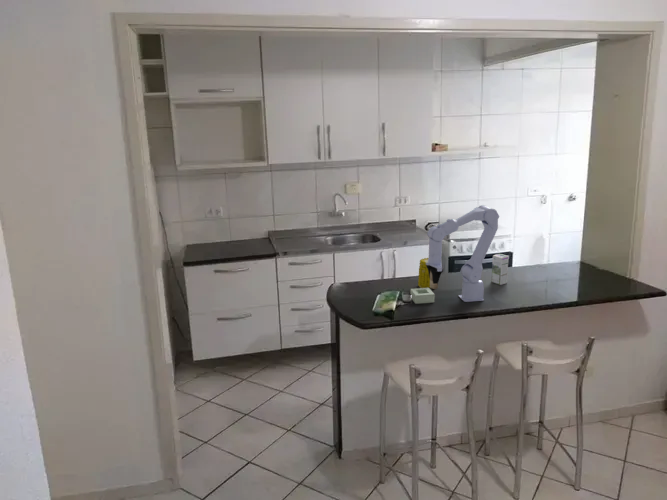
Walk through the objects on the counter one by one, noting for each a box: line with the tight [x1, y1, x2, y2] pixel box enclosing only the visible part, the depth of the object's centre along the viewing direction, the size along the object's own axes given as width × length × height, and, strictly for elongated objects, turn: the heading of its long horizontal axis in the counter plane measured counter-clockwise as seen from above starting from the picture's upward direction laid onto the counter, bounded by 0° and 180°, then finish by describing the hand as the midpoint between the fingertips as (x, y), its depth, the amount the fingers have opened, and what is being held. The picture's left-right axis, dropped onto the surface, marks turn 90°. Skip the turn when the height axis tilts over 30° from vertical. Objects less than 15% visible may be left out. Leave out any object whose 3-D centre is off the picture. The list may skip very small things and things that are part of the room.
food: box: [417, 257, 433, 290], centre depth 264 cm, size 15×12×10 cm
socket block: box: [409, 287, 436, 305], centre depth 248 cm, size 9×9×4 cm
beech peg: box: [430, 270, 439, 290], centre depth 242 cm, size 4×4×8 cm
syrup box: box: [490, 253, 510, 286], centre depth 267 cm, size 6×6×14 cm
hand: (434, 281), depth 242 cm, fingers closed on beech peg, 4 cm apart
